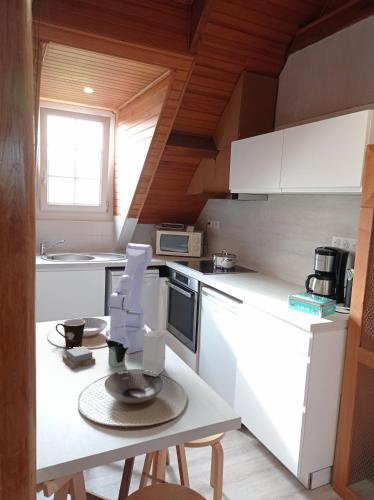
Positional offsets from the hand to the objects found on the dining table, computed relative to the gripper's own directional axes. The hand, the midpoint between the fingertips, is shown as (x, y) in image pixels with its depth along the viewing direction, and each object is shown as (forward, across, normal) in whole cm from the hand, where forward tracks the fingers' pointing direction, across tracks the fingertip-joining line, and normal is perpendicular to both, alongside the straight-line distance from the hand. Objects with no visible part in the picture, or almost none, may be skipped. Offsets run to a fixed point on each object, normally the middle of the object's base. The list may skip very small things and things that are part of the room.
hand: (116, 359), depth 139 cm
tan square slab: (+2, -9, -11) cm, 14 cm away
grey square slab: (0, -9, -11) cm, 14 cm away
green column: (+2, 0, 0) cm, 2 cm away
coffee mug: (+2, -26, -7) cm, 27 cm away
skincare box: (+2, +13, +8) cm, 15 cm away
